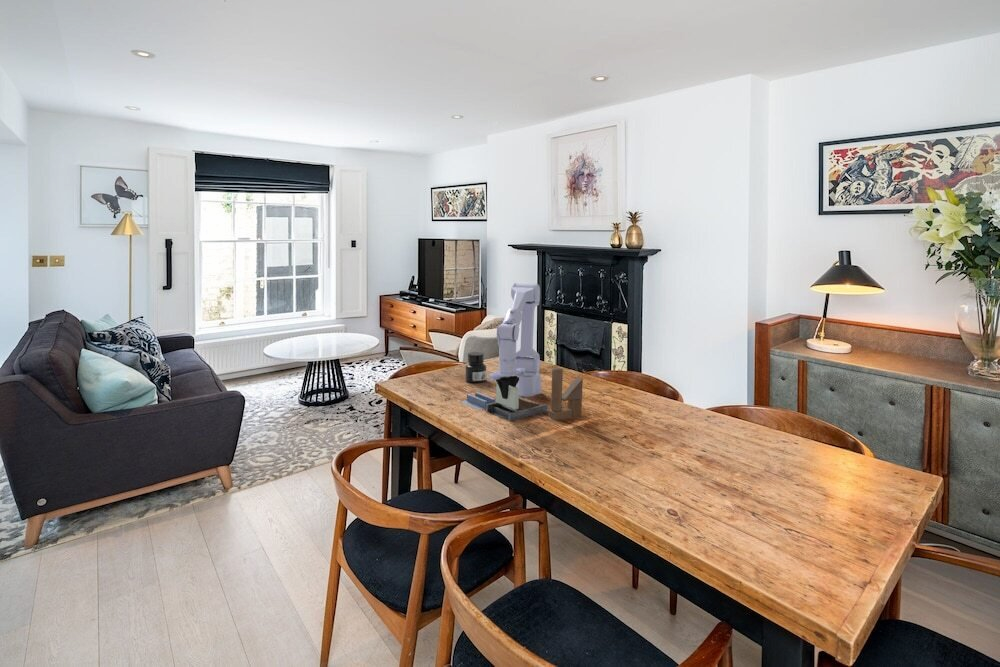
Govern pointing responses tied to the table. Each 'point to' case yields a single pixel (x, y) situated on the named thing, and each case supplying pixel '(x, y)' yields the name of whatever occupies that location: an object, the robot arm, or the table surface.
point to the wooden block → (565, 397)
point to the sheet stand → (478, 401)
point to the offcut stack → (526, 403)
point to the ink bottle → (475, 368)
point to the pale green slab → (512, 397)
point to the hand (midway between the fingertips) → (507, 397)
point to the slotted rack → (514, 411)
